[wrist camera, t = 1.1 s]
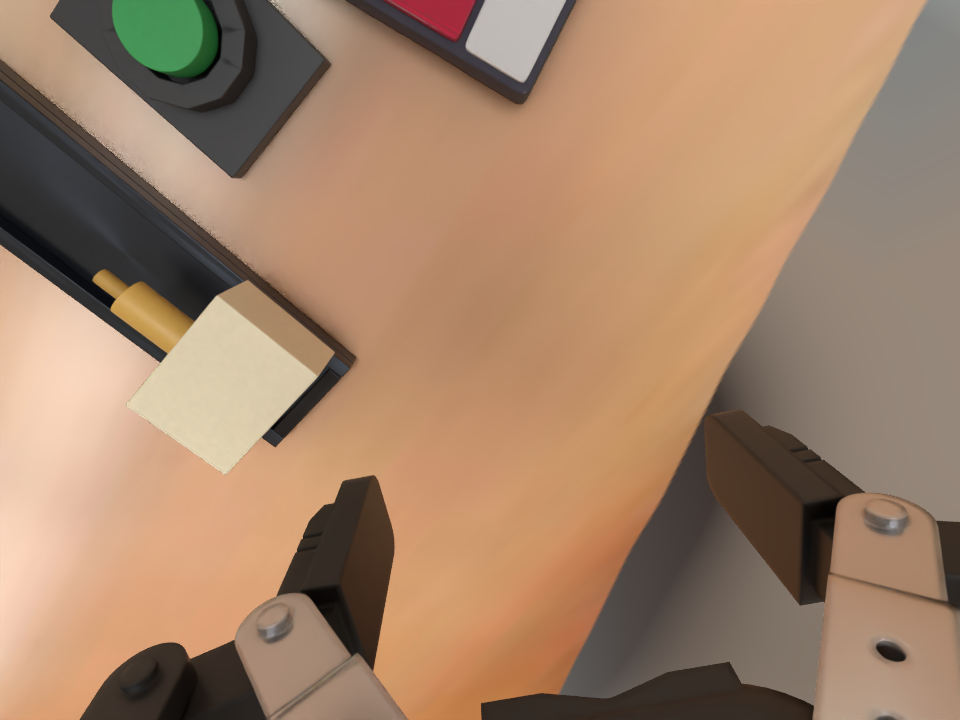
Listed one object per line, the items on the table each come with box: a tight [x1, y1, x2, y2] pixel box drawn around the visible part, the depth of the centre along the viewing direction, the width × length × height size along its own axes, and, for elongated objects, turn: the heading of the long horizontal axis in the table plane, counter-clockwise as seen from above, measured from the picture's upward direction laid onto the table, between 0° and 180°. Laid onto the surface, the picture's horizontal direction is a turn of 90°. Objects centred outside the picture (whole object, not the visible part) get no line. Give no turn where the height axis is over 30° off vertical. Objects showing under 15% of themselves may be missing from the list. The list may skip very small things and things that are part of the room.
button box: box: [50, 0, 330, 178], centre depth 29 cm, size 12×9×3 cm
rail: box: [0, 60, 356, 447], centre depth 33 cm, size 30×8×2 cm, turn 46°
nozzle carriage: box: [93, 269, 335, 475], centre depth 32 cm, size 13×9×6 cm
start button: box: [112, 0, 219, 78], centre depth 27 cm, size 4×4×2 cm
